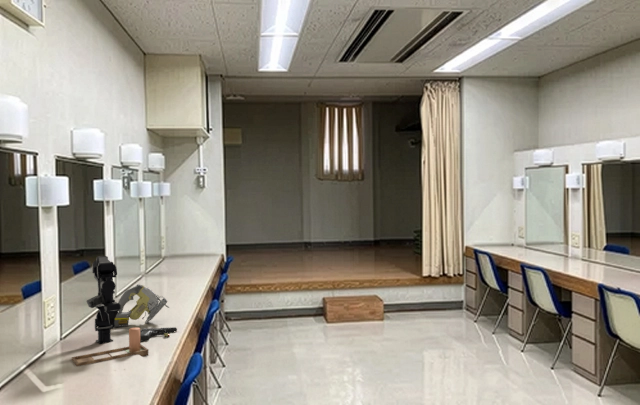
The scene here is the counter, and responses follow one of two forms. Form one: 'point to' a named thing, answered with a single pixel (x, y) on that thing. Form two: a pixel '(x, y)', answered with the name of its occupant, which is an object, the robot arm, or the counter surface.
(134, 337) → the smooth tapered peach-colored object
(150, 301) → the circular saw
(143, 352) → the box
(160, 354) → the counter surface
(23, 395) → the counter surface
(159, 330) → the pistol
